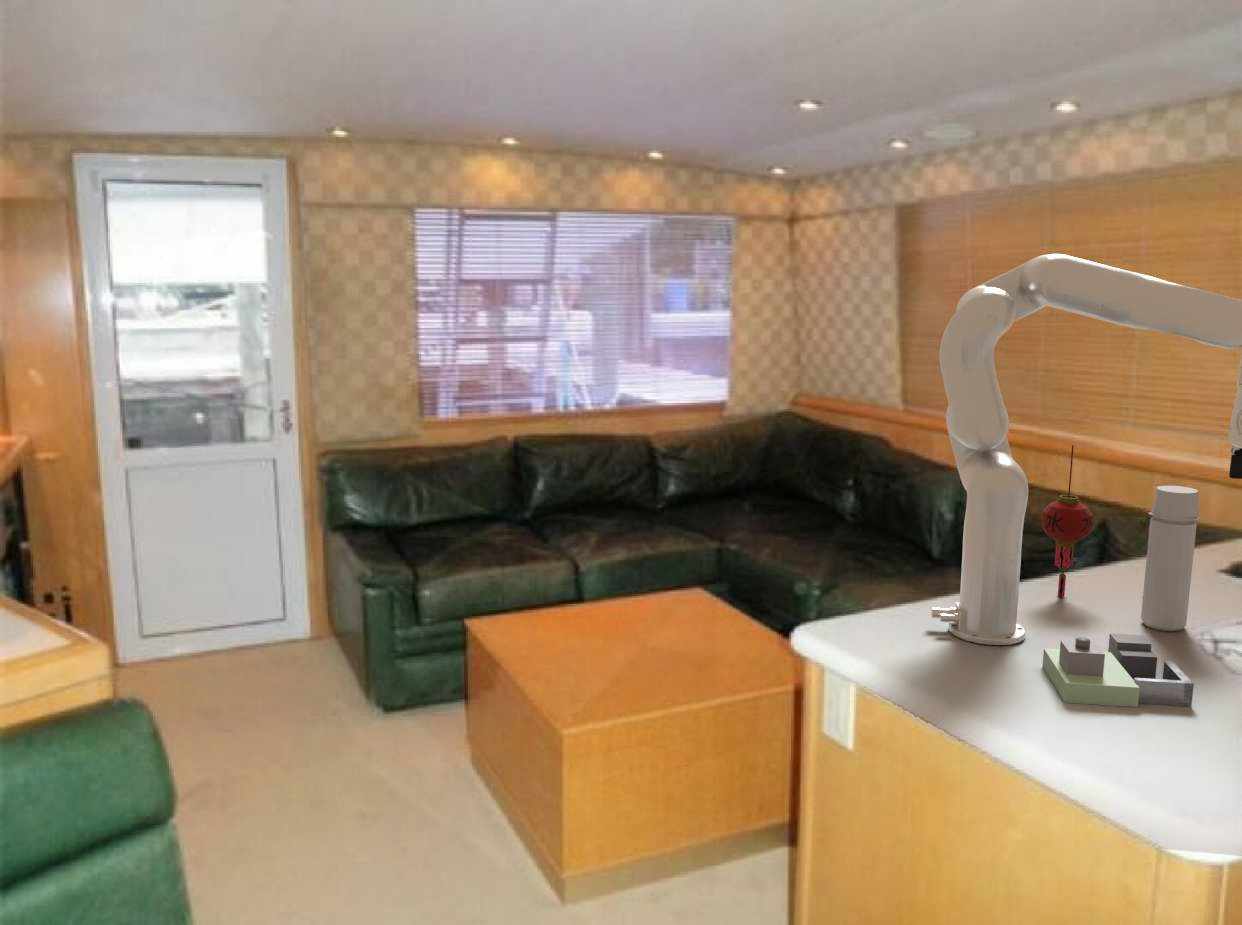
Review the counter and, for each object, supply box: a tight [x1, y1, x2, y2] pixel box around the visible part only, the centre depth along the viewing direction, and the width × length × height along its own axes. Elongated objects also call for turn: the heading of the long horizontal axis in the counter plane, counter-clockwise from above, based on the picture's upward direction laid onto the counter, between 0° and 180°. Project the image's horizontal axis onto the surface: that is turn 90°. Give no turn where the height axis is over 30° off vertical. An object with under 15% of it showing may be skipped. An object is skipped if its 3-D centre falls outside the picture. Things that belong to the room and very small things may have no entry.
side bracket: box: [1134, 660, 1195, 707], centre depth 148 cm, size 8×8×4 cm
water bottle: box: [1140, 485, 1200, 632], centre depth 175 cm, size 9×8×25 cm
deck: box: [1042, 636, 1140, 708], centre depth 151 cm, size 10×14×8 cm
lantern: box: [1040, 444, 1094, 598], centre depth 191 cm, size 10×10×30 cm
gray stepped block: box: [1107, 633, 1159, 680], centre depth 156 cm, size 5×7×5 cm
